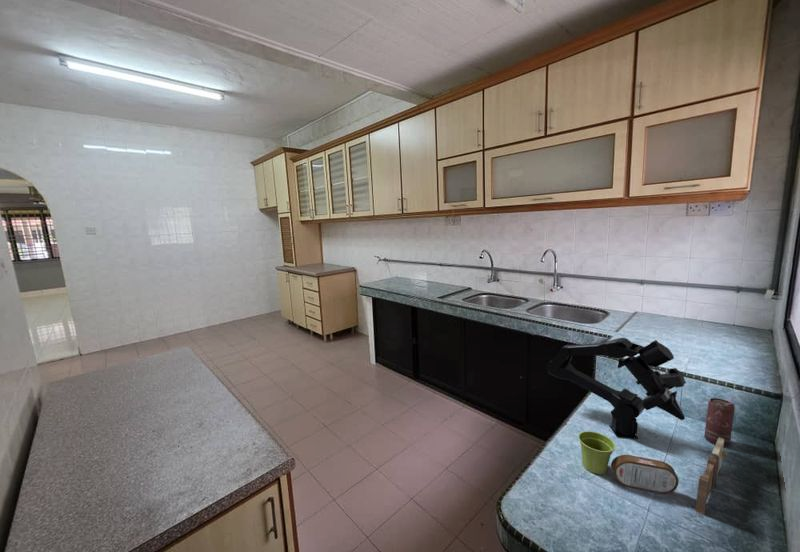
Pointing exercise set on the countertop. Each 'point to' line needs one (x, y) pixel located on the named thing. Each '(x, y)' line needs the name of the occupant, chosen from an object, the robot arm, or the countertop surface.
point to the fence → (706, 485)
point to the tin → (644, 473)
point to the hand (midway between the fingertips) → (683, 419)
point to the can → (719, 421)
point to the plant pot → (595, 451)
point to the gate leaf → (718, 455)
